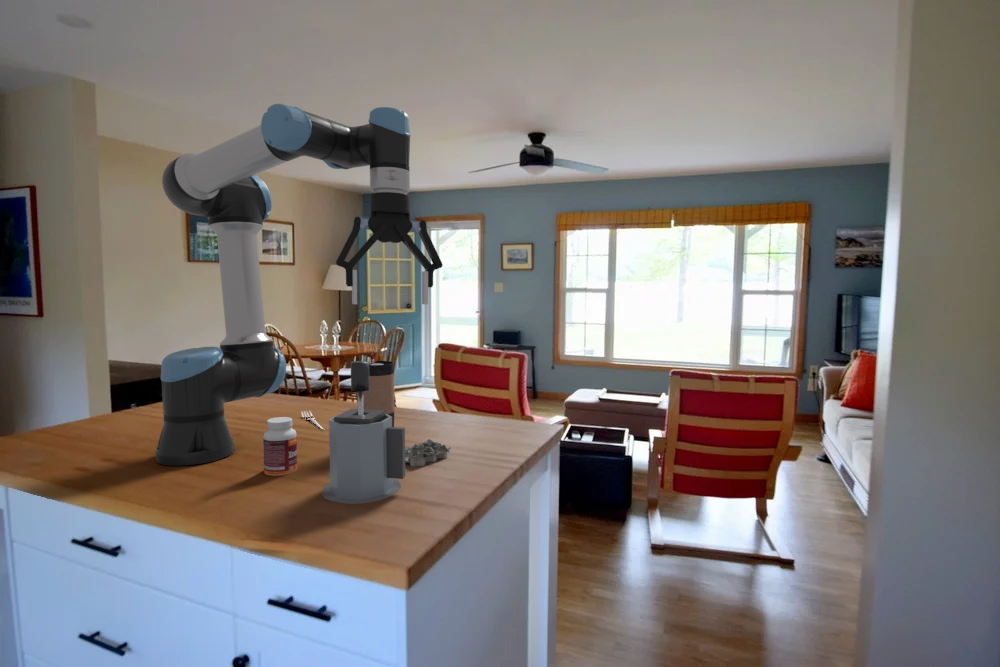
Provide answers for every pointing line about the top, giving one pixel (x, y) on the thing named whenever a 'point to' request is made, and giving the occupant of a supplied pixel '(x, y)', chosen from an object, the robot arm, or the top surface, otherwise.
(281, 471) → the pill bottle
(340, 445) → the carafe
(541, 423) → the top surface
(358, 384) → the plunger
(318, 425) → the fork
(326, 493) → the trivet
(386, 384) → the travel mug
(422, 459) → the egg carton
